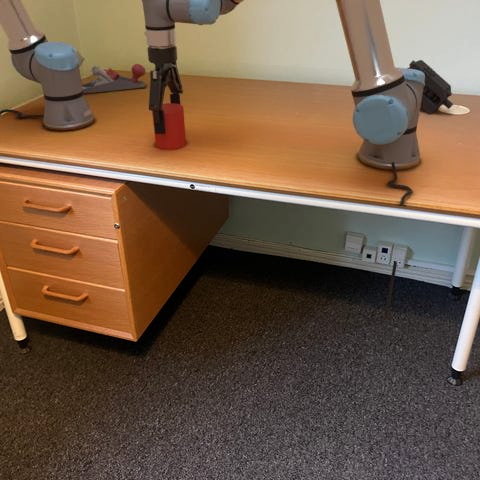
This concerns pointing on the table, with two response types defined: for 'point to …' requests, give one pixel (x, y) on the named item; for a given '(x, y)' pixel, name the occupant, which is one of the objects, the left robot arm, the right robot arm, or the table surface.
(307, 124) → the table surface
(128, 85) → the hand plane
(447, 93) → the tool
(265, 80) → the table surface
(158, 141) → the canister
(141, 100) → the table surface
